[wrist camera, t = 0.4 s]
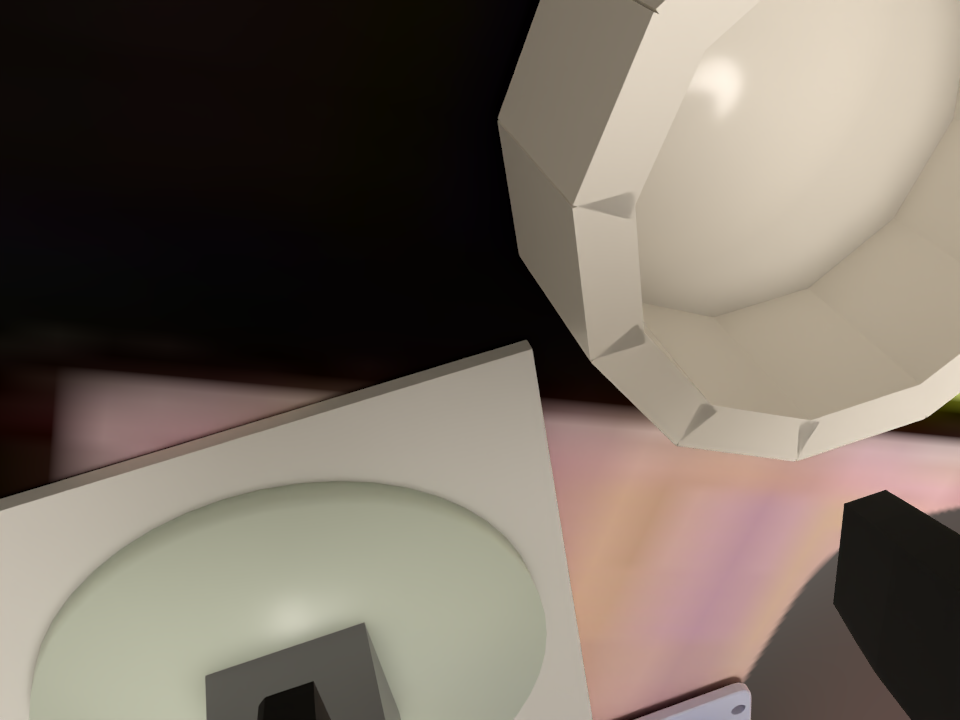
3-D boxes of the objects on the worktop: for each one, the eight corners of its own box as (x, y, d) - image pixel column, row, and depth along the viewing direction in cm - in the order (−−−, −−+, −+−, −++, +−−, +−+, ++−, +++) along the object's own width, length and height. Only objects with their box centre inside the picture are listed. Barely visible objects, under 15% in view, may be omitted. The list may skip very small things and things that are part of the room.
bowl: (947, 262, 23) (1096, 361, 19) (535, 390, 21) (609, 523, 18) (1034, -262, 16) (1283, -263, 13) (449, -124, 15) (538, -83, 11)
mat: (591, 728, 30) (595, 738, 30) (140, 891, 28) (139, 904, 28) (526, 339, 21) (532, 348, 20) (-159, 547, 19) (-165, 561, 18)
